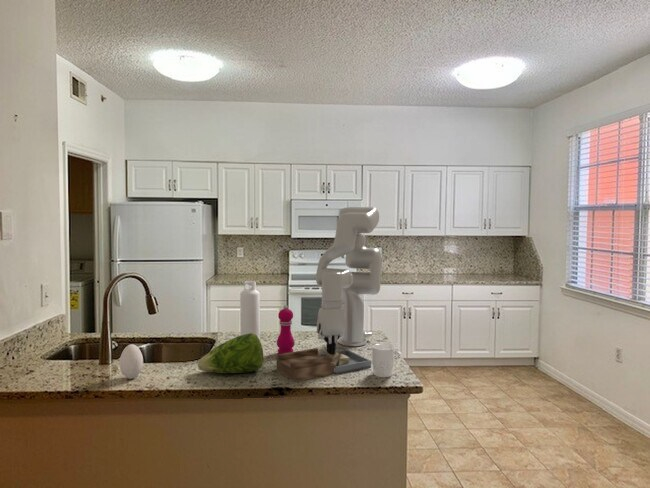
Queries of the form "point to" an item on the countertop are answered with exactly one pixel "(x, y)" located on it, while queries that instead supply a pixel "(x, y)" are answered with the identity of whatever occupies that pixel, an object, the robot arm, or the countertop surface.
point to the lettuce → (234, 356)
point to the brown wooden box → (304, 364)
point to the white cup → (383, 359)
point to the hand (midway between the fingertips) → (330, 353)
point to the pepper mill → (285, 331)
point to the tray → (351, 362)
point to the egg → (131, 361)
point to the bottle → (250, 309)
